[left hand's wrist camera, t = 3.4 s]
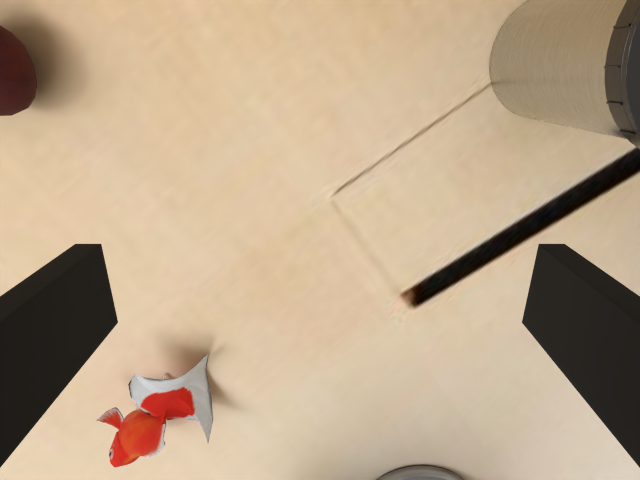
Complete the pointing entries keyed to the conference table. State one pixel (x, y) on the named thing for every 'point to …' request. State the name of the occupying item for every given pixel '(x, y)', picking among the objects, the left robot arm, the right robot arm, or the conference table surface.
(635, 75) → the lid
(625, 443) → the left robot arm
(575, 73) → the jar
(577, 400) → the conference table surface
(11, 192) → the conference table surface
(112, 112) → the conference table surface
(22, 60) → the dark brown ball
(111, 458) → the fish
